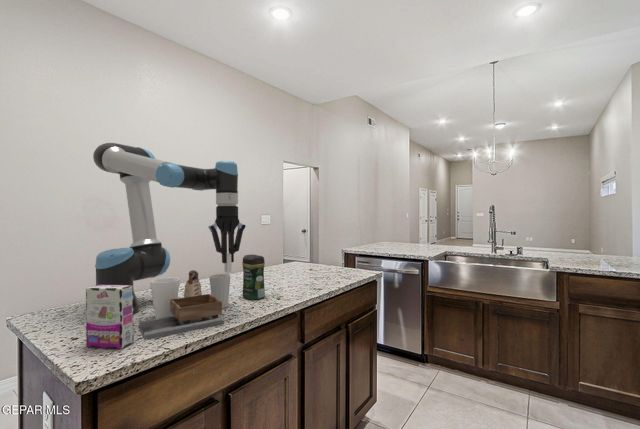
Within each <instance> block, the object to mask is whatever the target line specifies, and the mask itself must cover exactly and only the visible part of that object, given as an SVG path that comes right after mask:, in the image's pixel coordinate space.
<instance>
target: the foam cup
mask: <svg viewBox="0 0 640 429" xmlns="http://www.w3.org/2000/svg"><path fill="white" fill-rule="evenodd" d="M180 281H181V279H180V278H179V277H160V278H155V279H152V280H150V282H149V286H150V287H149V288H150V290H151V297H152V303H153V310H154V317H155V319H158V318H164V317H169V316H174V315H173V314H172V313H171V312H170V300H171V299H178V297H179V291H180V290H179V289H180V285H181V282H180Z"/></svg>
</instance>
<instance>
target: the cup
mask: <svg viewBox="0 0 640 429" xmlns="http://www.w3.org/2000/svg"><path fill="white" fill-rule="evenodd" d="M208 277H209V286H210V294H211V295H212V296H214V297H215V298H217V299H219V300H220V301H222V309H225V308H228V307H229V300H230V298H229V297H230V288H231V287H230V285H231V283H230V282H231V274H229V273H216V274H211V275H209V276H208Z"/></svg>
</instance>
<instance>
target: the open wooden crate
mask: <svg viewBox="0 0 640 429" xmlns="http://www.w3.org/2000/svg"><path fill="white" fill-rule="evenodd" d="M170 312H171V313H172V314H173V315H174V316H175V317H176V318H177V319H178V320H179V322H181V321H182V322H183V323H184V324H187V323H189V322H190V320H192V319H197V318H202V317H208V316H211V317H212V318H217V317H219V315H222V314H223V308H222V301H220V300H219V299H217V298H215V297H214V296H212V295H211V293H206V294H202V295H198V296H191V297H185V298H184V297H180V298H178V299H171V300H170Z"/></svg>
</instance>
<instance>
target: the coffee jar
mask: <svg viewBox="0 0 640 429" xmlns="http://www.w3.org/2000/svg"><path fill="white" fill-rule="evenodd" d="M241 263H242V271H243V275H242V278H243V279H242V297H243V298H244V299H248V300H249V301H254V300H262V299H263V298H265V296H266V292H265V290H266V289H265V276H264V275H265V274H264V273H265V264H266V263H265V257H264V256H263V255H257V254H246V255H244V256H243V257H242V262H241Z"/></svg>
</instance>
